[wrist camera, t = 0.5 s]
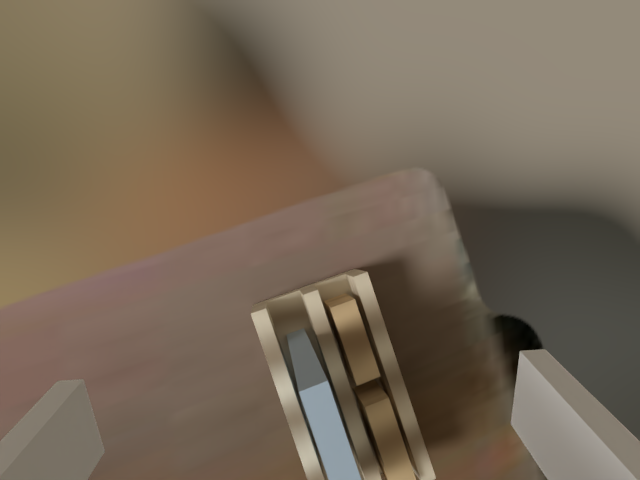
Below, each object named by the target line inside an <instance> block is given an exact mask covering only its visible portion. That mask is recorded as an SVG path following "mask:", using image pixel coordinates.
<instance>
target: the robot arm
mask: <svg viewBox="0 0 640 480" xmlns="http://www.w3.org/2000/svg"><path fill="white" fill-rule="evenodd" d="M511 425H512V427H513V428H514V430H515V431H516V433H517V434H518V436H519V437H520V439H521V440H522V442H523V443H524V445H525V446H526V448H527V449H528V451H529V452H530V454H531V455H532V457H533V458H534V460H535V461H536V463H537V464H538V466H539V467H540V469H541V470H542V472H543V473H544V475H545V476H546V478H547V479H548V480H640V442H639V440H637V438H635V436H633V435H632V434H631V433H630V432H629V431H628V430H627V429H626V428H625V427H624V426H623V425H622V424H621V423H620V422H619V421H618V420H617V419H616V418H615V417H614V416H613V415H612V414H611V413H610V412H609V411H608V410H607V409H606V408H605V407H604V406H603V405H601V403H600V402H599V401H597V399H596V398H594V397H593V396H592V395H591V394H590V393H589V392H588V391H587V390H586V389H585V388H584V387H583V386H582V385H581V384H580V383H579V382H578V381H577V380H576V379H575V378H574V377H573V376H572V375H571V374H570V373H569V372H568V371H567V370H566V369H565V368H564V367H563V366H562V365H561V364H560V363H558V361H557V360H556V359H554V358H553V357H552V356H551V355H550V354H549V353H548V352H547V351H546V350H545V349H543V350H527V351H520V355H519V363H518V371H517V379H516V386H515V394H514V402H513V410H512V418H511ZM104 452H105V450H104V447H103V444H102V440H101V437H100V434H99V430H98V427H97V423H96V420H95V417H94V413H93V410H92V406H91V403H90V400H89V396H88V393H87V390H86V386H85V383H84V379H81V380H65V381H57V382H56V383H55V384H54V385H53V386H52V387H51V388H50V390H49V391H48V392H47V393H46V394H45V395H44V396H43V397H42V398H41V399H40V400H39V401H38V402H37V403H36V404H35V405H34V406H33V407H32V408H31V409H30V411H29V412H28V413H27V414H26V415H25V416H24V417H23V418H22V419H21V420H20V421H19V422H18V423H17V424H16V425H15V426H14V427H13V428H12V429H11V430H10V432H9V433H8V434H7V435H6V436H5V437H4V438H3V439H2V440H1V441H0V480H87V479H88V478H89V476H90V475H91V473H92V471H93V470H94V468H95V466H96V465H97V463H98V461H99V460H100V458H101V456H102V455H103V453H104Z"/></svg>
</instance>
